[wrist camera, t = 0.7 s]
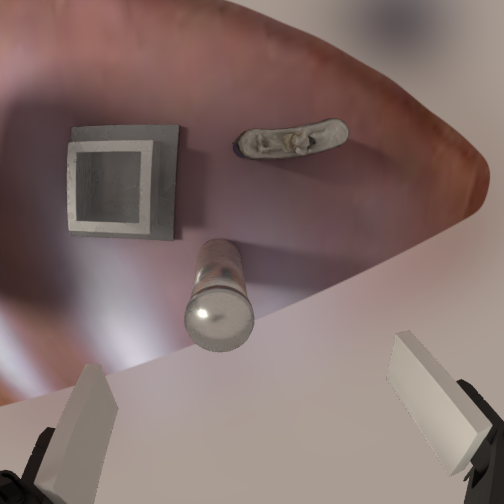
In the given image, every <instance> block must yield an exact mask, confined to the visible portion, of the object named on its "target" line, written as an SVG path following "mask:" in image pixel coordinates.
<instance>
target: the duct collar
mask: <svg viewBox="0 0 504 504" xmlns="http://www.w3.org/2000/svg"><path fill="white" fill-rule="evenodd" d="M179 132H180V125H106V126H85V127H72V128H71V142H68V152H67V212H68V231H71V236H87V237H107V238H127V239H146V240H165V241H173V240H174V225H175V197H176V176H177V160H178V145H179Z"/></svg>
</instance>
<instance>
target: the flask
mask: <svg viewBox="0 0 504 504" xmlns="http://www.w3.org/2000/svg"><path fill="white" fill-rule="evenodd" d="M348 136H349V129H348V127H347V125H346V124H345V122H343V121H342V120H341V119H336V118H328V119H325V120H322V121H320V122H317V123H312V124H308V125H304V126H298V127H291V128H285V129H249V130H247V131H244V132H243V133H241V134H240V136H239V137H238V138H237V139H236V140H235V142H234V143H232V144H233V150H234V152H235V153H236V155H237V156H239V157H241V158H247V159H263V160H267V159H277V160H279V159H290V158H297V157H303V156H308V155H313V154H316V153H320V152H324V151H327V150H330V149H333V148H336V147H339V146H341V145H342V144H344V143H345V142H346V141H347V140H348Z"/></svg>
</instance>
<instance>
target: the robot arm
mask: <svg viewBox="0 0 504 504" xmlns="http://www.w3.org/2000/svg"><path fill="white" fill-rule="evenodd" d="M386 379H387V381H388V382H389V384H390V385H391V387H392V388H393V390H394V391H395V392H396V394H397V396H398V397H399V399H400V400H401V402H402V403H403V405H404V407H405V408H406V410H407V411H408V413H409V414H410V416H411V417H412V419H413V420H414V422H415V423H416V425H417V427H418V428H419V430H420V431H421V432H422V434H423V436H424V438H425V439H426V441H427V442H428V444H429V445H430V447H431V449H432V450H433V452H434V453H435V455H436V457H437V458H438V460H439V461H440V463H441V465H442V466H443V468H444V469H445V471H446V473H447V474H448V476H449V477H450V476H452V475H454V474H456V473H458V472H460V471H462V470H464V469H465V467H466V466H467V465H468V463H469V462H470V461H471V463H472V464H473V467H472V468H471V470H470V471H469V472H468V474H467V475H466V476H465V478H464V480H463V481H466V480H467V479H468V478H469V482H468V487H467V491H466V496H465V500H464V504H504V421H503V420H502V419H501V418H500V417H499V415H498V414H497V413H496V412H495V411H494V410H493V409H492V408H491V406H490V405H489V404H488V403H487V402H486V401H485V400H484V399H483V397H482V396H481V395H480V394H478V392H477V390H476V389H475V388H474V387H473V386H472V385H471V384H469V383H468V382H466V381H464V380H462V379H461V380H458V381H455V380H454V379H453V378H452V377H451V376H450V375H449V373H448V372H447V371H446V370H445V369H444V368H443V367H442V366H441V364H440V363H439V362H438V361H437V360H436V359H435V358H434V357H433V356H432V355H431V354H430V352H429V351H428V350H427V349H426V348H425V347H424V346H423V345H422V344H421V342H420V341H419V340H418V339H417V338H416V337H415V336H414V335H413V334H412V333H411V332H410V331H405V332H401V333H396V334H395V340H394V345H393V350H392V355H391V359H390V364H389V369H388V373H387V377H386ZM117 411H118V406H117V404H116V402H115V399H114V397H113V394H112V392H111V390H110V387H109V385H108V382H107V380H106V377H105V375H104V372H103V369H102V367H101V364H86V365H85V367H84V369H83V371H82V373H81V375H80V377H79V379H78V381H77V383H76V385H75V387H74V389H73V391H72V393H71V396H70V398H69V400H68V402H67V404H66V406H65V409H64V411H63V413H62V415H61V417H60V420H59V422H58V424H57V426H56V428H50V427H47V428H46V429H45V430H44V431H43V432H42V433H41V434H40V436H39V438H38V440H37V442H36V444H35V447H34V449H33V451H32V455H31V456H30V458H29V460H28V463H27V465H26V468H25V470H24V473H23V475H22V478H21V479H20V478H19V477H18V476H17V475H16V474H15V473H13V472H12V471H8V470H3V471H0V504H94V501H95V496H96V492H97V488H98V483H99V479H100V475H101V471H102V466H103V463H104V458H105V455H106V451H107V447H108V444H109V440H110V436H111V433H112V429H113V425H114V422H115V418H116V415H117ZM469 476H470V477H469Z"/></svg>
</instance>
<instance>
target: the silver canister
mask: <svg viewBox="0 0 504 504" xmlns="http://www.w3.org/2000/svg"><path fill="white" fill-rule="evenodd" d="M184 321H185V327H186V329H187V332H188V333H189V336H190V337H191V339H192V340H193V341H194V342H195V343H196V344H197V345H198V346H200V347H202V348H203V349H206V350H209V351H212V352H227V351H231V350H234V349H236V348H238V347H240V346H241V345H242V344H243V343H245V341H246V340H247V339H248V337H249V335H250V334H251V332H252V330H253V327H254V313H253V309H252V305H251V303H250V301H249V300H248V296H247V290H246V285H245V280H244V274H243V269H242V263H241V257H240V253H239V250H238V249H237V247H236V246H235V245H234V244H233V243H232V242H230V241H228V240H226V239H213V240H210V241H208V242H207V243H206V244H204V245H203V247H202V248H201V250H200V252H199V256H198V261H197V266H196V271H195V277H194V282H193V288H192V293H191V299H190V300H189V302H188V304H187V307H186V311H185V318H184Z"/></svg>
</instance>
